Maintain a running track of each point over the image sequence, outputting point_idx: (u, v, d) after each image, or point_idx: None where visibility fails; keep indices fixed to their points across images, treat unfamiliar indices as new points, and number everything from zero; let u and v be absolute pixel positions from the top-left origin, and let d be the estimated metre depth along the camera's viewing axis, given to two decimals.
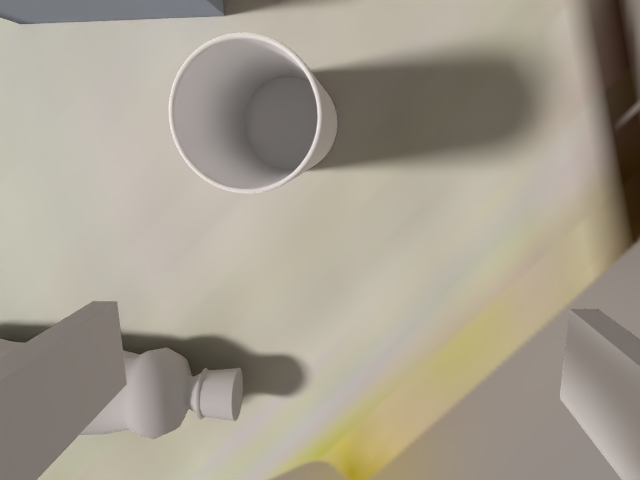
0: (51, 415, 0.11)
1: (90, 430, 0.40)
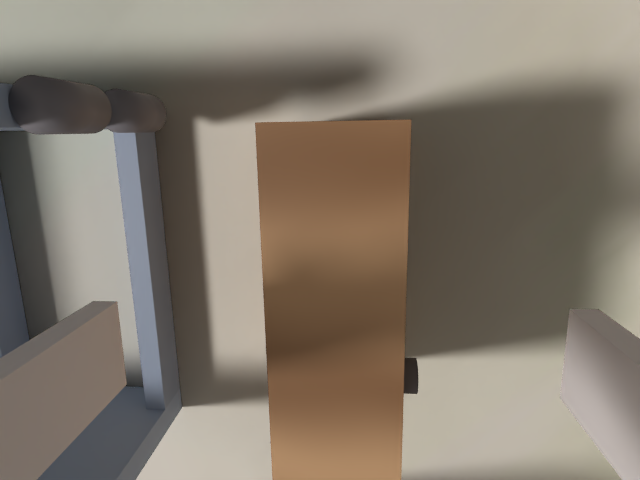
0: (51, 415, 0.11)
1: None
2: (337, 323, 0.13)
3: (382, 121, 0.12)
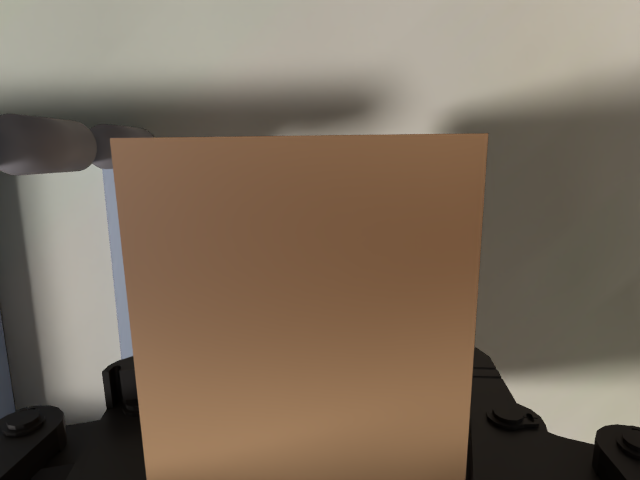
0: None
1: None
2: None
3: (416, 137, 0.05)
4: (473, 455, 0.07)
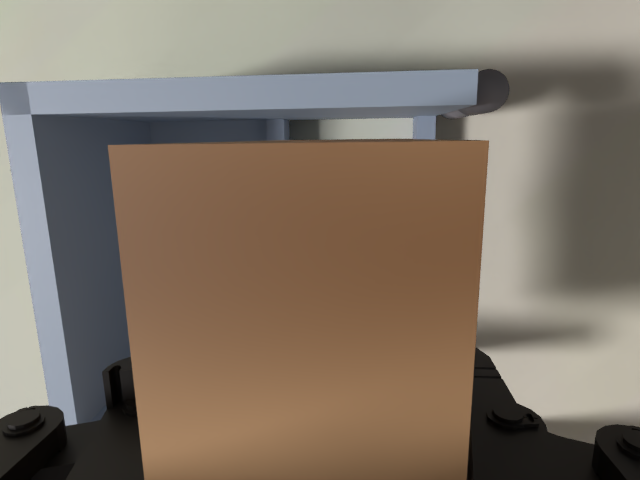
0: None
1: None
2: None
3: (416, 144, 0.05)
4: (473, 455, 0.07)
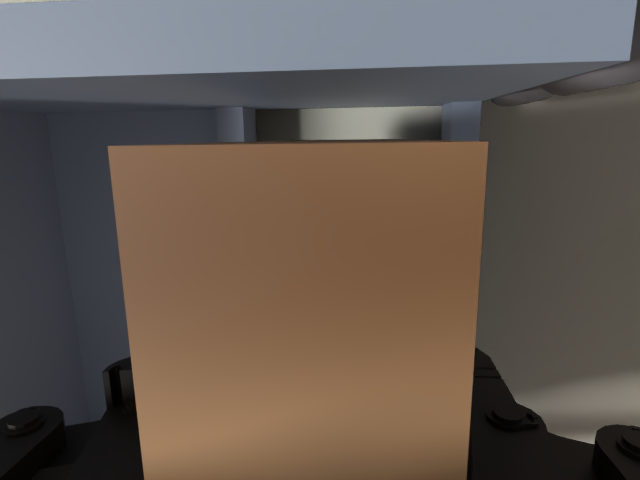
0: None
1: None
2: None
3: (415, 145, 0.05)
4: (473, 455, 0.07)
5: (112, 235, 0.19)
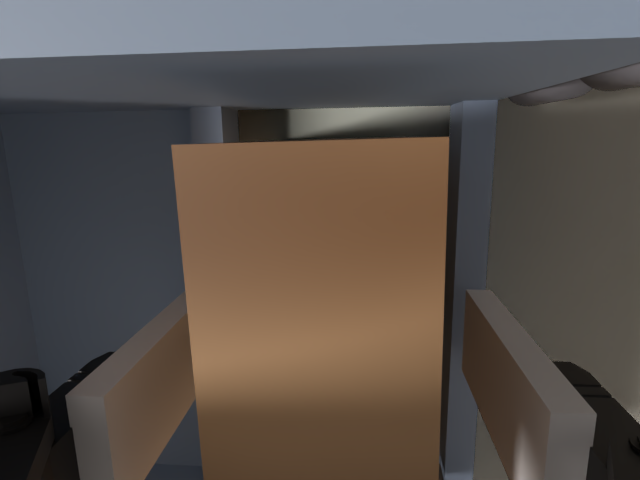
0: (177, 384, 0.12)
1: None
2: (323, 477, 0.08)
3: (396, 140, 0.06)
4: None
5: (77, 252, 0.17)
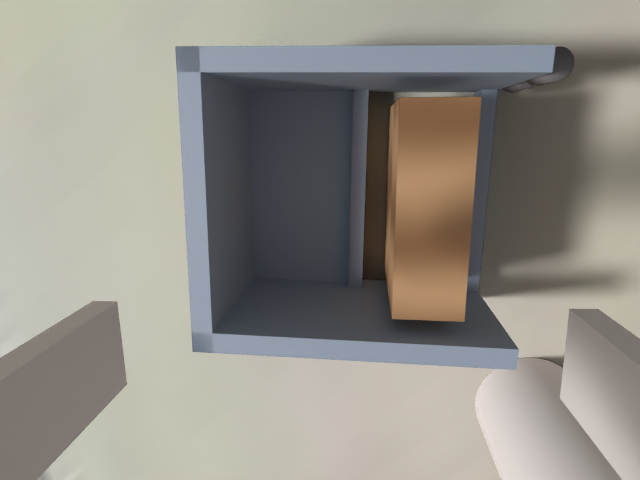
0: (51, 415, 0.11)
1: None
2: (436, 207, 0.24)
3: (466, 97, 0.23)
4: None
5: (281, 162, 0.34)
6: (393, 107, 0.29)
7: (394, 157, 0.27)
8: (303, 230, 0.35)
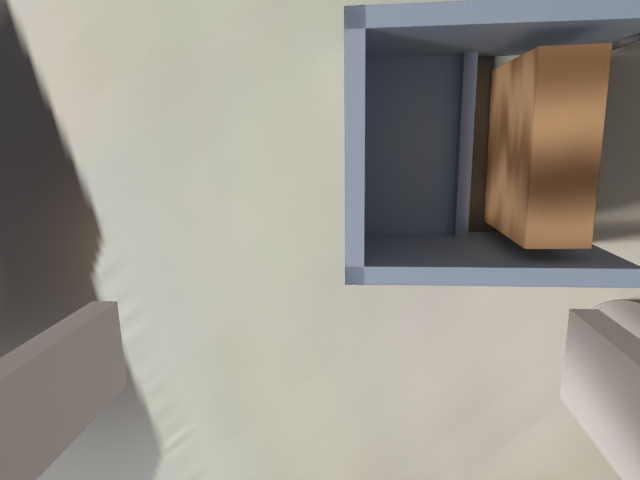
0: (51, 415, 0.11)
1: None
2: (568, 144, 0.27)
3: (599, 44, 0.26)
4: None
5: (391, 124, 0.37)
6: (508, 64, 0.32)
7: (519, 106, 0.30)
8: (410, 186, 0.38)
